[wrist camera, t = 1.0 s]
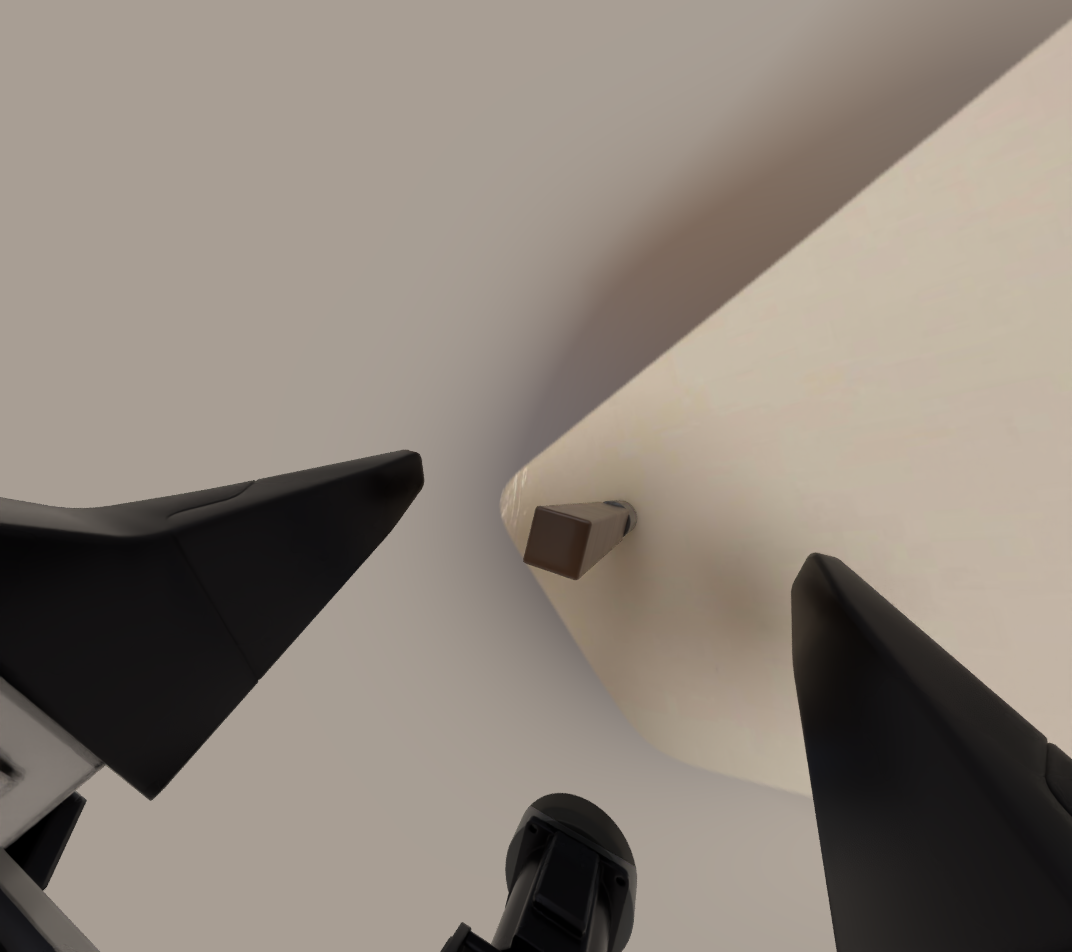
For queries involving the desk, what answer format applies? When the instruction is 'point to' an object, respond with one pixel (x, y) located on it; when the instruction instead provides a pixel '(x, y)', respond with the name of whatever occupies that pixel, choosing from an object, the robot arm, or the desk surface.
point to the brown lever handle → (576, 535)
